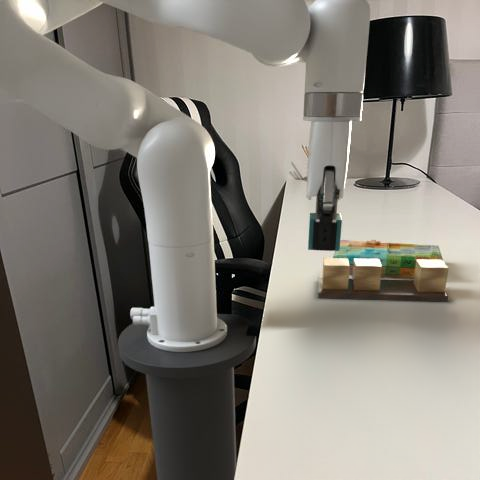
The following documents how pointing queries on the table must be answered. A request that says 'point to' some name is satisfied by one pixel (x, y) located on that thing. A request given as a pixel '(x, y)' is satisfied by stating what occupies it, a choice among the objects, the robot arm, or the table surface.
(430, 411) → the table surface
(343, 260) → the maple block
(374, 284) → the maple block
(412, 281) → the walnut board
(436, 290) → the maple block
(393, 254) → the puzzle game
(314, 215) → the teal block
